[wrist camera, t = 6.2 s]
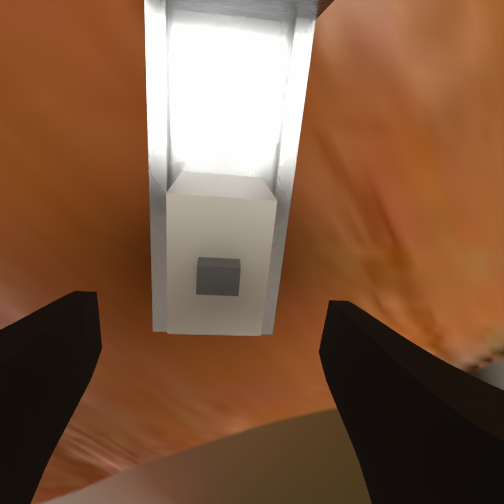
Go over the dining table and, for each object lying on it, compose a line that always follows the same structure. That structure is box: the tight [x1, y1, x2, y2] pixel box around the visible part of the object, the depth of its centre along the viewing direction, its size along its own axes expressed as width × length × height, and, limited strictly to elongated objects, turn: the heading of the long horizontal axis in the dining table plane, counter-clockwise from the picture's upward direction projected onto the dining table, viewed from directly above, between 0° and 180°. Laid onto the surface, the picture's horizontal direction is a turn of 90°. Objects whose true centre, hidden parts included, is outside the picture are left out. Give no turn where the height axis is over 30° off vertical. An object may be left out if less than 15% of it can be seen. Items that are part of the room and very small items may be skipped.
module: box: [166, 171, 277, 336], centre depth 15 cm, size 6×4×6 cm, turn 175°
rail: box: [144, 0, 334, 334], centre depth 15 cm, size 17×7×5 cm, turn 175°
